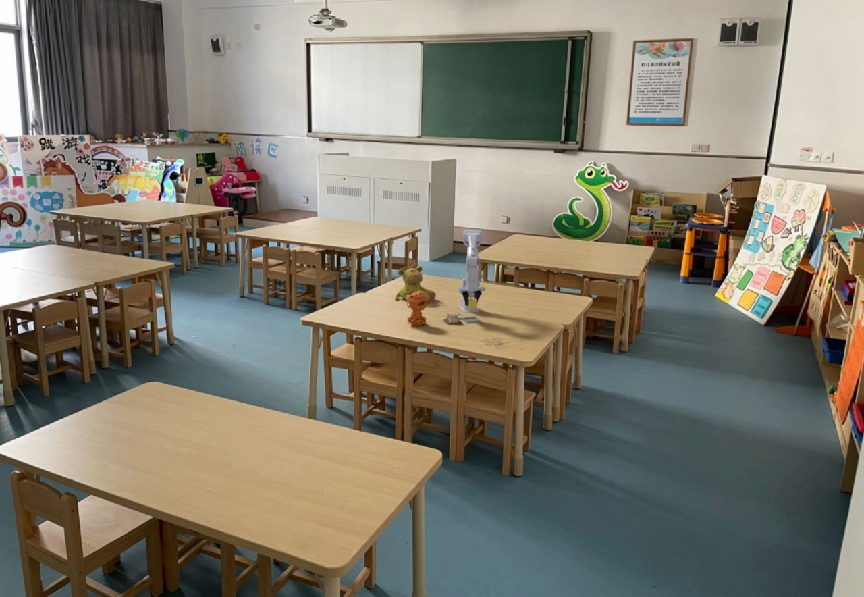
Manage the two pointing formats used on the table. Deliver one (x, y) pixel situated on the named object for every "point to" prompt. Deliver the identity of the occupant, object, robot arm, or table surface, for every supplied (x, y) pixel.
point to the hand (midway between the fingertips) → (471, 305)
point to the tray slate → (471, 319)
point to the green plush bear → (413, 283)
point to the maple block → (452, 317)
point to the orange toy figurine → (417, 308)
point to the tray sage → (460, 316)
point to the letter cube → (471, 303)
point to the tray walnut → (452, 323)
